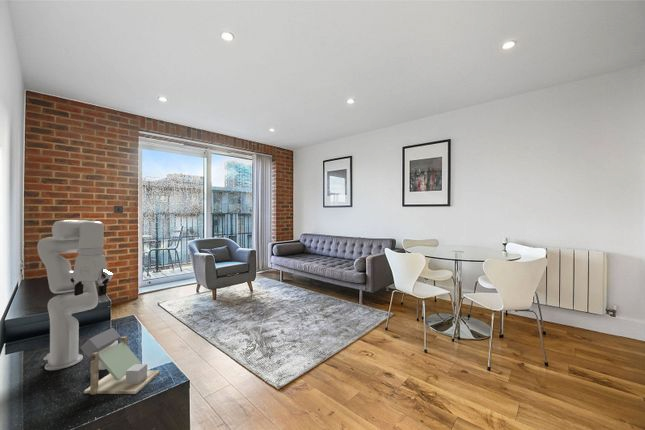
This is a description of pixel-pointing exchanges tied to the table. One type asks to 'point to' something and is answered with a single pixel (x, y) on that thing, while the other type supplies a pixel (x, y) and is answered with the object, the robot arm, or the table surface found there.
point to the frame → (109, 383)
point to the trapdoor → (111, 353)
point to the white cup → (101, 366)
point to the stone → (136, 374)
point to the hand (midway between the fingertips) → (90, 294)
